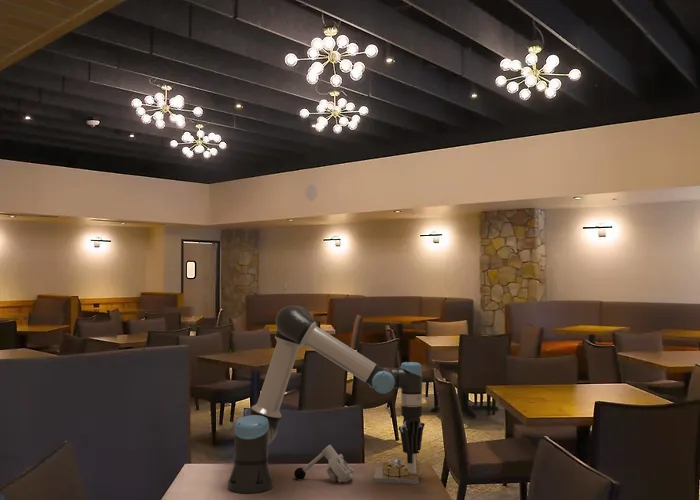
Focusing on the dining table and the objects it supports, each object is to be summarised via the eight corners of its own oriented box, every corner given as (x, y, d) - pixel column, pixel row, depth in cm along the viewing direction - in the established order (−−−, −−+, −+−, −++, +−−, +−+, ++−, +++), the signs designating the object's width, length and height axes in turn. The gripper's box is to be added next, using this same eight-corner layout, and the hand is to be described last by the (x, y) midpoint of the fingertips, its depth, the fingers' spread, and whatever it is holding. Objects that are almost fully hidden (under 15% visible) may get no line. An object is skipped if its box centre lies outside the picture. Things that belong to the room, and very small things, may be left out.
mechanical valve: (352, 477, 212) (325, 442, 216) (313, 510, 213) (287, 475, 217) (357, 473, 222) (332, 439, 226) (320, 504, 223) (296, 470, 227)
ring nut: (380, 475, 220) (380, 461, 221) (385, 468, 230) (385, 455, 230) (418, 477, 217) (418, 463, 217) (422, 470, 227) (421, 457, 227)
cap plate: (373, 482, 217) (373, 463, 217) (376, 471, 232) (376, 453, 233) (420, 483, 215) (420, 464, 216) (420, 472, 231) (420, 454, 231)
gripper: (409, 408, 214) (409, 477, 212) (430, 404, 224) (431, 470, 221) (392, 406, 220) (392, 473, 217) (414, 402, 229) (414, 467, 226)
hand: (411, 471), depth 219 cm, fingers closed
